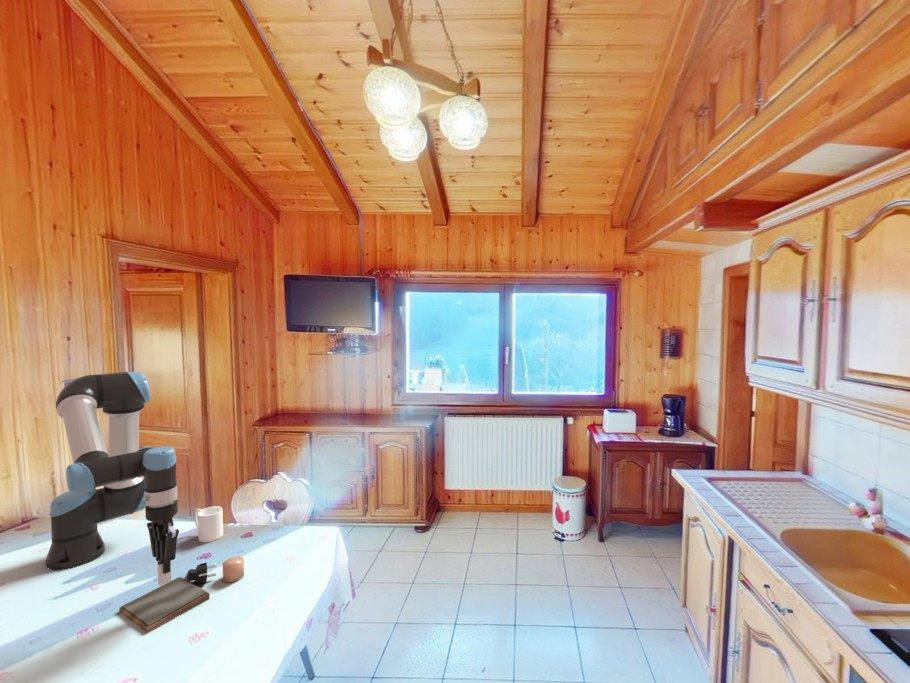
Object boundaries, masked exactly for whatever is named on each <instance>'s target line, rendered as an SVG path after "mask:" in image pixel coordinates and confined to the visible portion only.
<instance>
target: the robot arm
mask: <svg viewBox="0 0 910 683" xmlns="http://www.w3.org/2000/svg"><path fill="white" fill-rule="evenodd" d="M151 397H152V396H151V389H150V385H149V382H148V380H147V377H146V374H144V372H141V371H123V372H122V371H121V372H112V373H111V372H109V373H100V374H88V375H87V374H86V375H84V376H80V377H77V378H76V379H74V380H72V381H70V382H69V383H68V384H67V385H66V386H65V387H63V389H62V390H61V391H60V392H59V394H58V396H57V398H56V401H55V409H56V413H57V415H58V416H59V417H60V418H62V419H63V424H64V427H65V433H66V436H67V441H68V445H69V449H70V455H71V458H72V463H73V464H69V465H67V467H66V469H65V477H66V478H65V479H66V486H67V490H68V491H65V492H64V493H62V494H61V493H60V494H59V495H58V496H56V497H55V498H53V500H52V501H51V502H50V505H49V506H50V508H49V510H50V512H49V517H50V530H51V531H50V532H51V533H50V534H51V544H50V547H49V550H48V553H47V555H46V557H45V561H44V562H45V563H44V564H45V568H46V567H47V568H49V569H52V570H51V571H63V570H62V569H64V570H69V569H68V568H70V569H74V568H77V566H78V567H80V566H85V565H86V564H88V563H89V564H90V563H92V562H93V561H95V560H97V559H99V558H100V557H101V556H103V555H104V553H105V552H106V545H105V544H106V543H105V542H104V539H103V537H102V536H101V534H100V533H99V531H98V524H99V523H103V522H108V521H110V520H113V519H117V518H121V517H125V516H128V515H132V514H135V513H137V512H141V511H143V510H144V509H145V510H144V512H145V519H146V521H147V523H146V528H147V530H148V534H149V540H150V547H151V548H150V549H151V553H152V557H153V558H155V560H156V562H157V583H158V585H159V587H161V586H162V585H164V584H166V583H168V582H170V581H172V565H171V564H172V563H171V562H172V561H173V560H175V559H176V552H177V545H178V544H177V542H178V536H179V533H180V530H179V529H178V528H176V529H175V528H174V520H173V518H174V516H176V514H178V511H179V509H178V507H179V506H178V505H179V504H178V503H179V502H178V483H177V482H178V481H177V477H178V476H177V460H178V459H177V455H176V449H175V448H174V447H171V446H158V447H154V446H144V447H141V448H140V413H141V412H142V411H143V410H144V409H145V404H147V403H150V401H151ZM97 409H102V413H104V414H105V415H107V416H108V448H107V445H106V443H105V438H104V435H103V433H102V429H101V426H100V422H99V420H98V416H97V412H96V410H97ZM100 487H102V488H100ZM73 567H74V568H73ZM47 568H46V569H47ZM49 569H48V570H49Z"/></svg>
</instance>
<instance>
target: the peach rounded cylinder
mask: <svg viewBox="0 0 910 683" xmlns="http://www.w3.org/2000/svg"><path fill="white" fill-rule="evenodd" d="M244 558H245V557H243V556H233V557H230V558H227V559H225V560H224V561H222V580H223V582H224V583H232V582H233V583H234V582H237V581H238V580H241V579H242V578H243V577H244V576H245V564H244V563H245V560H244Z"/></svg>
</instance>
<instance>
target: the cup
mask: <svg viewBox="0 0 910 683" xmlns="http://www.w3.org/2000/svg"><path fill="white" fill-rule="evenodd" d="M223 512H224V511H223V507H222V506H219V505H216V506H215V505H214V506H209V507H205V508H196V509H195V510H194V523H195V527H196V528H197V532H198V535H197V536H198V537H197V538H198V541H199V542H200V543H210V542H211V543H212V542H214V541H216V540H217V541H218V540H219V539H220V538H222V537H223V536H224V517H223V516H224V515H223V514H224V513H223Z"/></svg>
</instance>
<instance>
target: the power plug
mask: <svg viewBox="0 0 910 683" xmlns="http://www.w3.org/2000/svg"><path fill="white" fill-rule="evenodd" d="M216 567H217V564H212V565H208V563H207V562H203V563H199V564H197V565H196V568H195V569H194V568H190V569H189V570H188V571H187V581H188V582H190V583H191V581H195V582H196V584H197V585H201V584H206V583H207V581H208V578H211V577H215V576H217V573H216V572H215V573H210V574H208V570H209V569H213V568H216Z"/></svg>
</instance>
